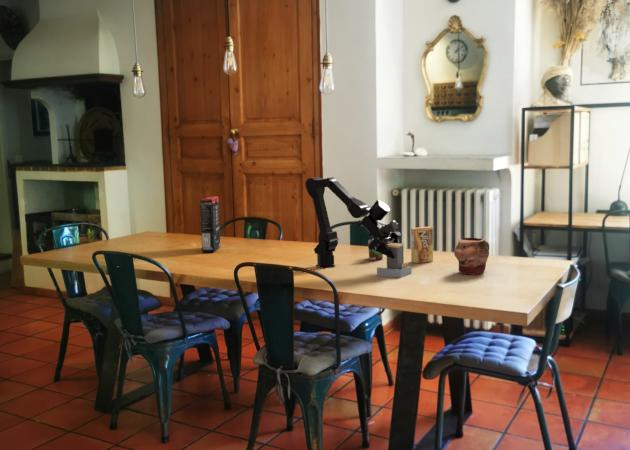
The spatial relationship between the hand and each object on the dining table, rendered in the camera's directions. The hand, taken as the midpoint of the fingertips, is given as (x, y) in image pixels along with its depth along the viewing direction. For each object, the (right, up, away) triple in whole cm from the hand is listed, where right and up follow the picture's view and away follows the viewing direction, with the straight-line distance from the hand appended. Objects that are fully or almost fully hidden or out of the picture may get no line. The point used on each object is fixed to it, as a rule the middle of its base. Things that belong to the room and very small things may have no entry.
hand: (398, 256), depth 268 cm
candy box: (+14, -4, +25) cm, 29 cm away
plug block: (-1, -7, +2) cm, 8 cm away
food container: (-5, -3, +34) cm, 34 cm away
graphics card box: (-87, 0, +73) cm, 114 cm away
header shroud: (-2, -7, +2) cm, 8 cm away
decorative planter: (+31, -7, +1) cm, 32 cm away
